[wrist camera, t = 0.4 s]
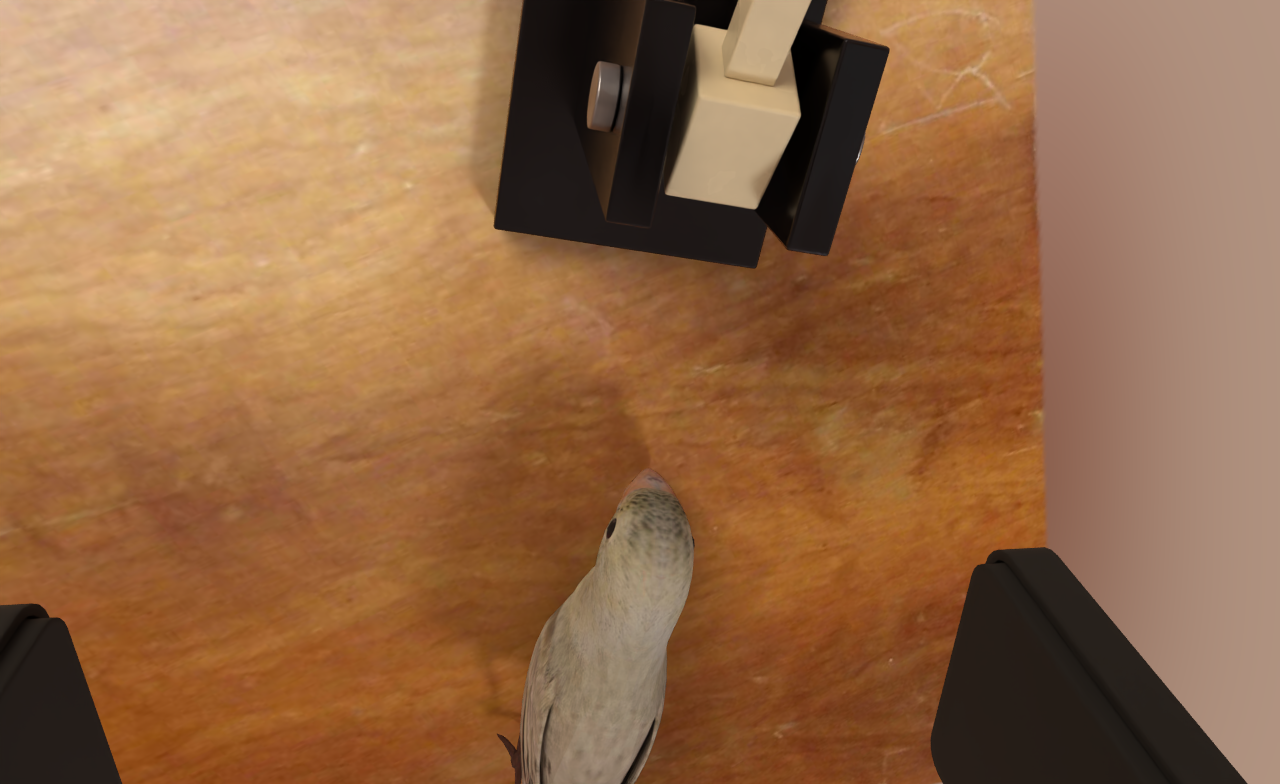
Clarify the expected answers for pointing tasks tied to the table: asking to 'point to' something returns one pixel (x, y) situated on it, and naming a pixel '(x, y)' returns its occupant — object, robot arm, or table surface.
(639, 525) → the decorative bird
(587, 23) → the lever stand
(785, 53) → the lever handle
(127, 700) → the table surface
